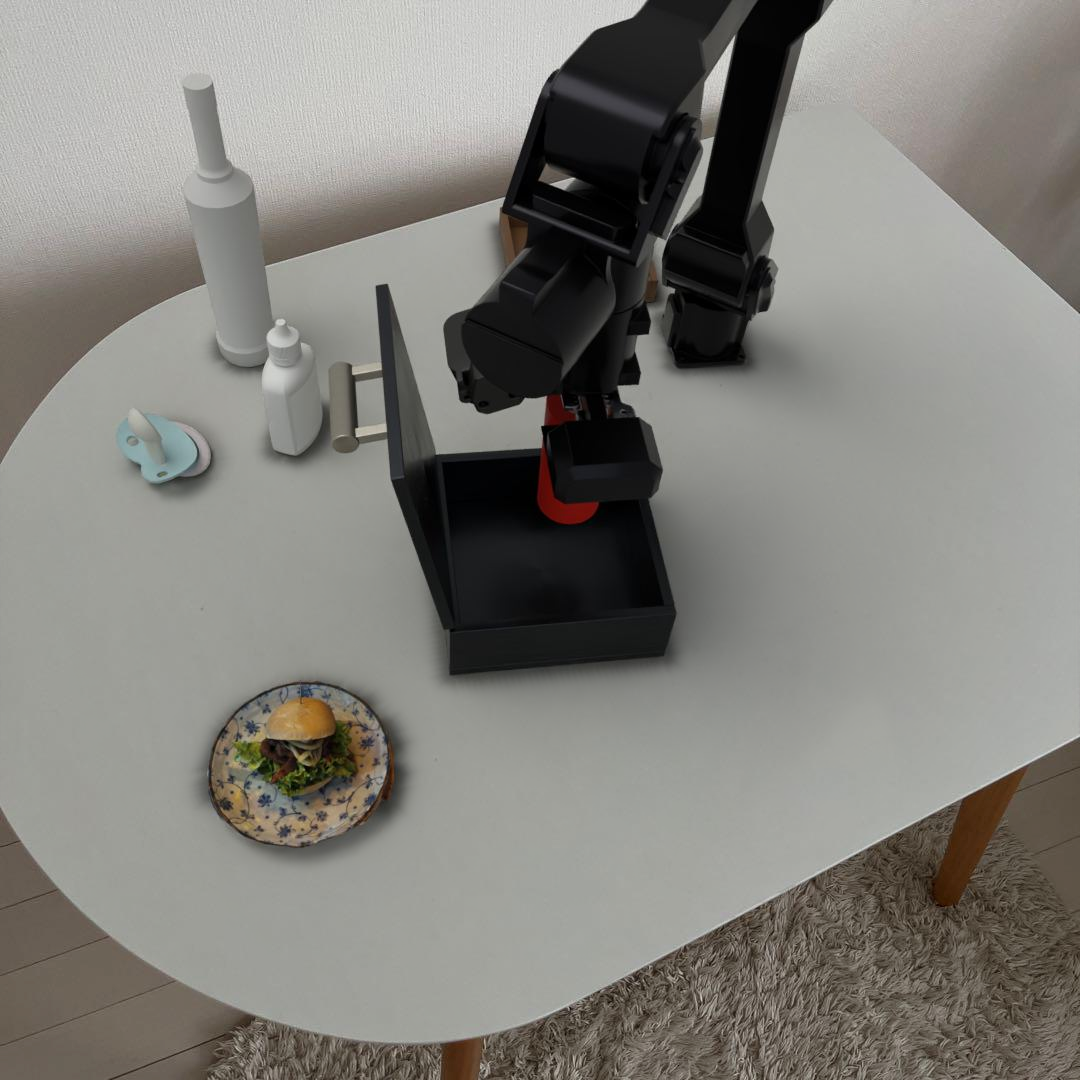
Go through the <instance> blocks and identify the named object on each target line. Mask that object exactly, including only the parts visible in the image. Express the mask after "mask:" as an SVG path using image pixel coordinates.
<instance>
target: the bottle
mask: <svg viewBox="0 0 1080 1080" xmlns="http://www.w3.org/2000/svg"><path fill="white" fill-rule="evenodd" d="M181 85H182V91H183V94H184V99H185V104H186V108H187V110H188V114H189V119H190V124H191V129H192V134H193V139H194V145H195V149H196V153H197V158H198V162H197V163H196V165H195V168H194V169H195V170H194V171H193V172H192V173H190V174H189V175H188V176H187V177H186V178H185V179H184V180H183V184H182V188H181V190H182V194H183V198H184V200H185V206H186V209H187V214H188V218H189V221H190V227H191V229H192V233H193V237H194V241H195V246H196V249H197V253H198V257H199V261H200V265H201V269H202V273H203V277H204V281H205V284H206V285H205V286H206V289H207V293H208V296H209V299H210V300H209V301H210V305H211V309H212V313H213V316H214V320H215V325H216V332H215V338H216V342H217V345H218V348H219V351H220V353H221V355H222V356H223V358H225V360H227V361H228V362H229V363H230V364H232V365H235V366H237V367H241V368H242V367H244V368H252V367H257V366H261V365H263V364H265V363H266V361H267V359H268V357H269V351H268V345H267V339H266V337H267V334H268V332H269V331H270V330H271V329H272V328H274V327H275V325H276V321H274V318H273V312H272V306H271V298H270V291H269V285H268V275H267V269H266V263H265V256H264V249H263V248H264V247H263V241H262V235H261V227H260V221H259V220H260V219H259V214H258V206H257V199H256V191H255V185H254V182H253V179H252V177H251V175H249V174H248V173H247V172H245V170H243V169H241V168H239V167H237V166H234V165H233V163H232V161H230V159H228V158H227V154H226V149H225V144H224V137H223V133H222V127H221V123H220V117H219V111H218V102H217V96H216V91H215V86H214V80H213V77H211V76H210V75H209V74H206V73H204V72H203V73H202V72H193V73H190V74H188V75H185V76H184V77H183V78H182V81H181Z"/></svg>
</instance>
